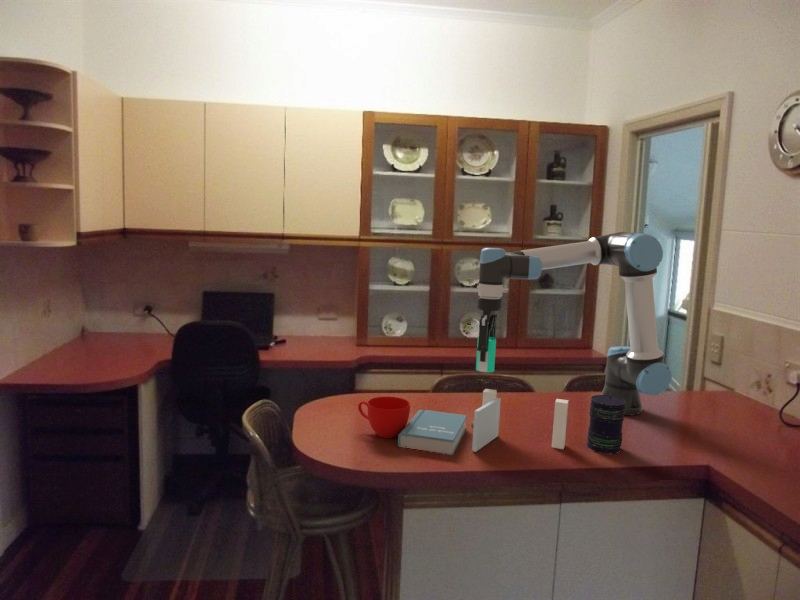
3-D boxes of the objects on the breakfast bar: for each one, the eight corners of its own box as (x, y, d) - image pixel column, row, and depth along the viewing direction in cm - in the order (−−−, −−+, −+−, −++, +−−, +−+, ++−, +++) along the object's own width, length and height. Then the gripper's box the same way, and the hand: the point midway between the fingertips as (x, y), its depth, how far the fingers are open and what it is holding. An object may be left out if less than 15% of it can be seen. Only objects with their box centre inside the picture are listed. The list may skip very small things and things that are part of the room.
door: (475, 451, 172) (478, 411, 170) (467, 449, 173) (469, 409, 172) (498, 435, 185) (500, 398, 184) (489, 433, 187) (492, 396, 185)
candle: (473, 370, 190) (475, 333, 189) (478, 366, 196) (480, 330, 194) (491, 373, 188) (494, 335, 186) (496, 369, 194) (498, 332, 192)
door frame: (564, 445, 181) (568, 400, 179) (563, 449, 177) (567, 403, 175) (482, 431, 189) (485, 388, 187) (480, 435, 186) (483, 391, 184)
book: (452, 457, 169) (453, 440, 169) (397, 448, 174) (398, 432, 173) (466, 430, 191) (467, 415, 190) (417, 423, 195) (417, 408, 195)
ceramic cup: (368, 422, 194) (369, 392, 192) (415, 432, 186) (417, 400, 185) (347, 434, 182) (348, 402, 181) (397, 445, 175) (398, 412, 173)
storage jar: (616, 457, 173) (621, 407, 171) (582, 449, 178) (586, 400, 176) (624, 446, 181) (629, 399, 179) (591, 439, 187) (595, 392, 184)
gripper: (485, 293, 199) (481, 361, 202) (470, 299, 181) (465, 374, 185) (508, 295, 196) (503, 364, 199) (494, 301, 178) (489, 377, 182)
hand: (485, 368), depth 192 cm, fingers closed on candle, 6 cm apart
